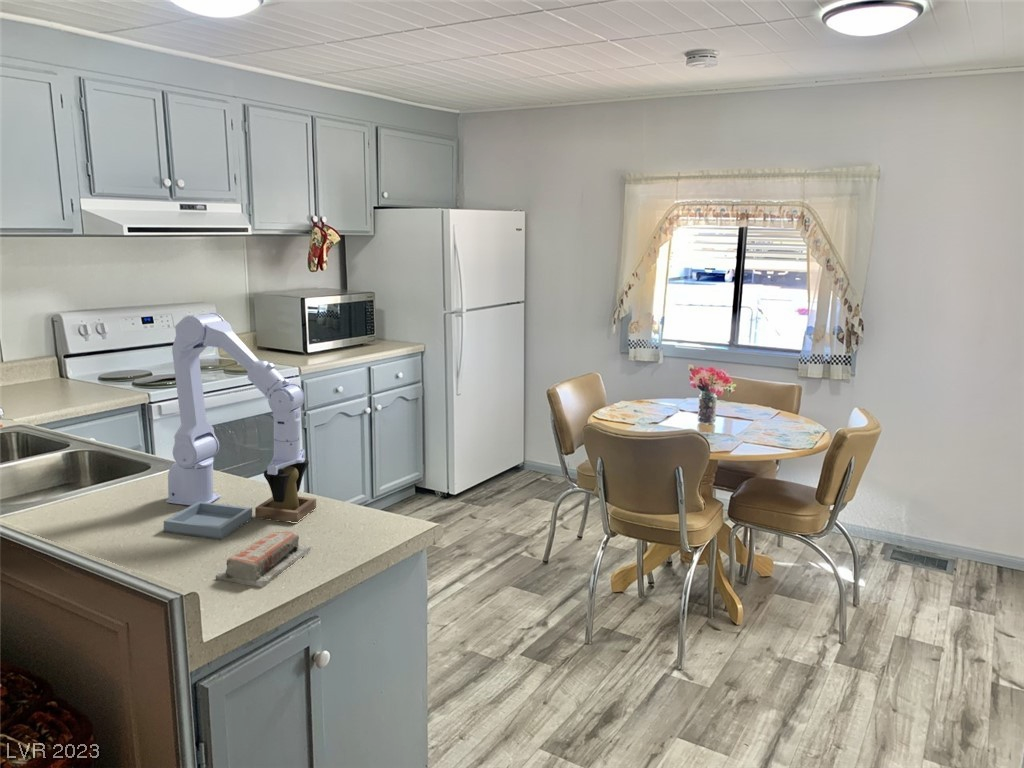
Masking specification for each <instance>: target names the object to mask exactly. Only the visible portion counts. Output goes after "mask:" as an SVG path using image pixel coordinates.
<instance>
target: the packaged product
mask: <svg viewBox="0 0 1024 768" xmlns="http://www.w3.org/2000/svg"><path fill="white" fill-rule="evenodd" d="M299 539H300V536H299V534H297V533H294V532H292V531H288V530H287V531H275V532H271V533H270V532H269V533H268V534H266V535H265V536H263V537H261V538H260V539H258V540H257V541H255V542H253V543H252V544H250V545H248V546H247V547H245V548H244V549H241V550H240V551H239V552H237V553H236V554H234V555H232V556H229V558H228V559H226V568H225V569H224V570H222V571H221V572H219V573H218V574H216V575H215V578H216V580H219V581H224V582H229V583H236V584H241V585H245V586H246V585H247V586H251V587H257V588H265V586H267V585H268V584H270V583H271V582H272V581H273V580H275V579H276V578H278V577H279V576H280V575H279V574H281V573H282V572H283V571H284V570H286V569H287V568H288V567H290V566H291V565H293V564H294V563H295V562H296V561H297V560H298V559H300V558H301V557H303V556H304V555H305V554H307V553H308V552H309V551H310V552H311V548H312V546H309V545H301V544H299V541H300V540H299ZM310 552H309V553H310ZM309 553H308V554H309ZM308 554H307V555H308ZM303 558H304V557H303ZM294 565H295V564H294ZM294 565H293V566H294ZM290 568H291V567H290ZM286 571H287V570H286ZM283 573H284V572H283ZM283 573H282V574H283ZM282 574H281V575H282ZM278 575H279V576H278ZM277 576H278V577H277ZM275 577H276V578H275ZM274 578H275V579H274ZM271 580H272V581H271ZM270 581H271V582H270Z"/></svg>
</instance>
